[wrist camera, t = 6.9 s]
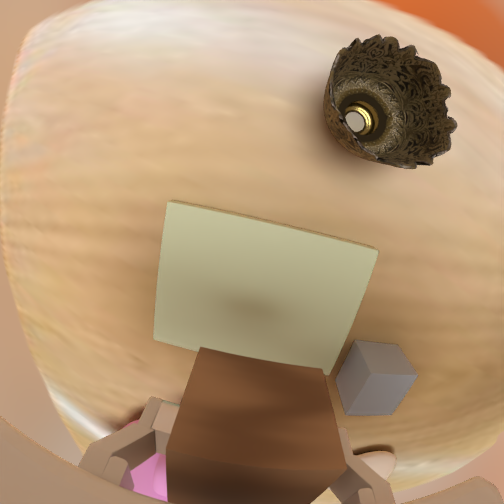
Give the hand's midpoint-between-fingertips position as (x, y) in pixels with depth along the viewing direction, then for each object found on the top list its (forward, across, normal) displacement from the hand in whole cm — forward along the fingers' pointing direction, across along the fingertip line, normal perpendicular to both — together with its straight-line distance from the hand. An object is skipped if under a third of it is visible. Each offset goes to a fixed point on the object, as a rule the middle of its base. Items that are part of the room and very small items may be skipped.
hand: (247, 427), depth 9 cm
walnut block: (+2, 0, 0) cm, 2 cm away
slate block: (+13, -12, +5) cm, 18 cm away
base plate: (+13, 0, 0) cm, 13 cm away
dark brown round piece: (+13, -4, -15) cm, 21 cm away
